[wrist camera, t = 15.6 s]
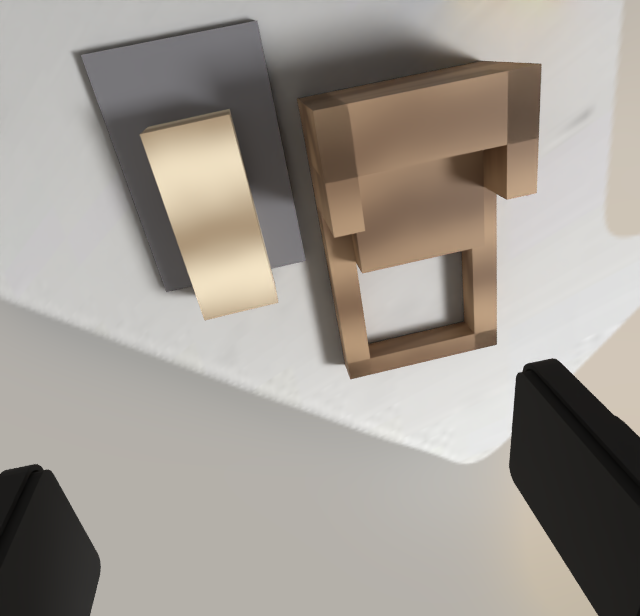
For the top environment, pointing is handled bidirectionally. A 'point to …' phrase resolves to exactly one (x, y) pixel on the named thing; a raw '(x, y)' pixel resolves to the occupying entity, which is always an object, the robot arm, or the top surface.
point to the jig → (420, 191)
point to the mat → (189, 101)
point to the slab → (212, 212)
